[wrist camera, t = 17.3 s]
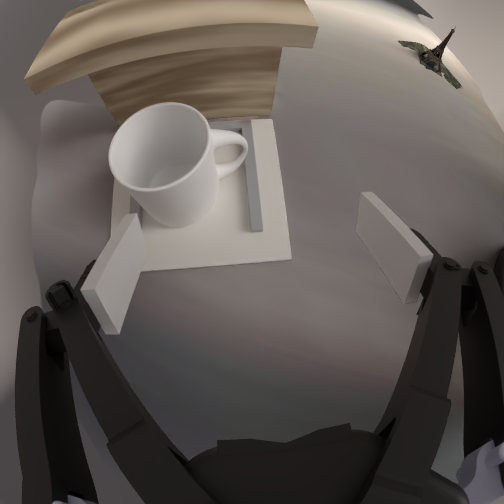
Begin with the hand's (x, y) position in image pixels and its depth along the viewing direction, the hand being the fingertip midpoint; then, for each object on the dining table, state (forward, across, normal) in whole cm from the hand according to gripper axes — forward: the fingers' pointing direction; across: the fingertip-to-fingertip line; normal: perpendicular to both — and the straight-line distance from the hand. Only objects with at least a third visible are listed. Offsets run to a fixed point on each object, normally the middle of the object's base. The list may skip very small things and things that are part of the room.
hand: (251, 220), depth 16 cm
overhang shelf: (+21, -6, +1) cm, 22 cm away
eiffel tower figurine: (+39, +43, +15) cm, 60 cm away
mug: (+16, -5, -4) cm, 17 cm away
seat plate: (+16, -6, -4) cm, 17 cm away
